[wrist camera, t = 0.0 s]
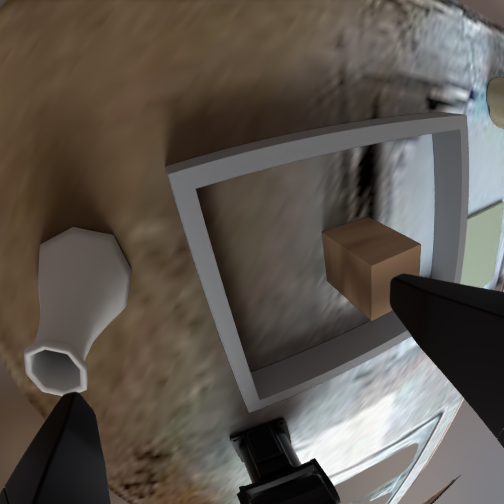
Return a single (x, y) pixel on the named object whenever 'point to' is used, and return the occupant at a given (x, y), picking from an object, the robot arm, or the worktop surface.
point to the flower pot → (496, 100)
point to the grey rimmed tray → (298, 148)
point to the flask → (74, 305)
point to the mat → (482, 246)
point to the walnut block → (368, 263)
